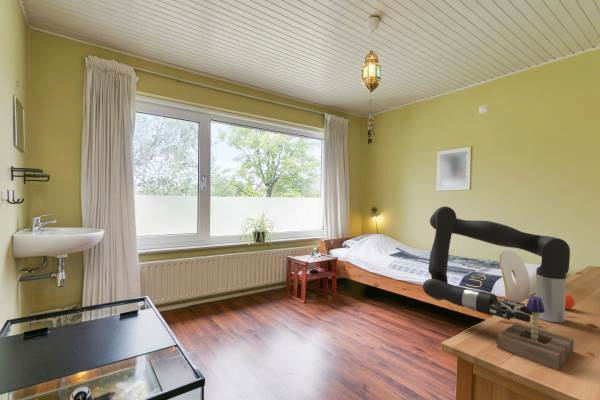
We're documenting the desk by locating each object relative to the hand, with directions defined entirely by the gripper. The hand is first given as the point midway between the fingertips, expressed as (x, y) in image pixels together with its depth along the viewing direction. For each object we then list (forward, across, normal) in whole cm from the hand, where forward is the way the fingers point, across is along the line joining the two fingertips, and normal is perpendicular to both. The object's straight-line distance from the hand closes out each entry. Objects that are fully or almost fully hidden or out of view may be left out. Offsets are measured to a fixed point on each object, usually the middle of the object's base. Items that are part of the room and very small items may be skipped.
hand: (534, 316), depth 94 cm
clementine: (-4, +60, +11) cm, 61 cm away
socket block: (0, 0, +10) cm, 11 cm away
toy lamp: (0, -1, +11) cm, 11 cm away
